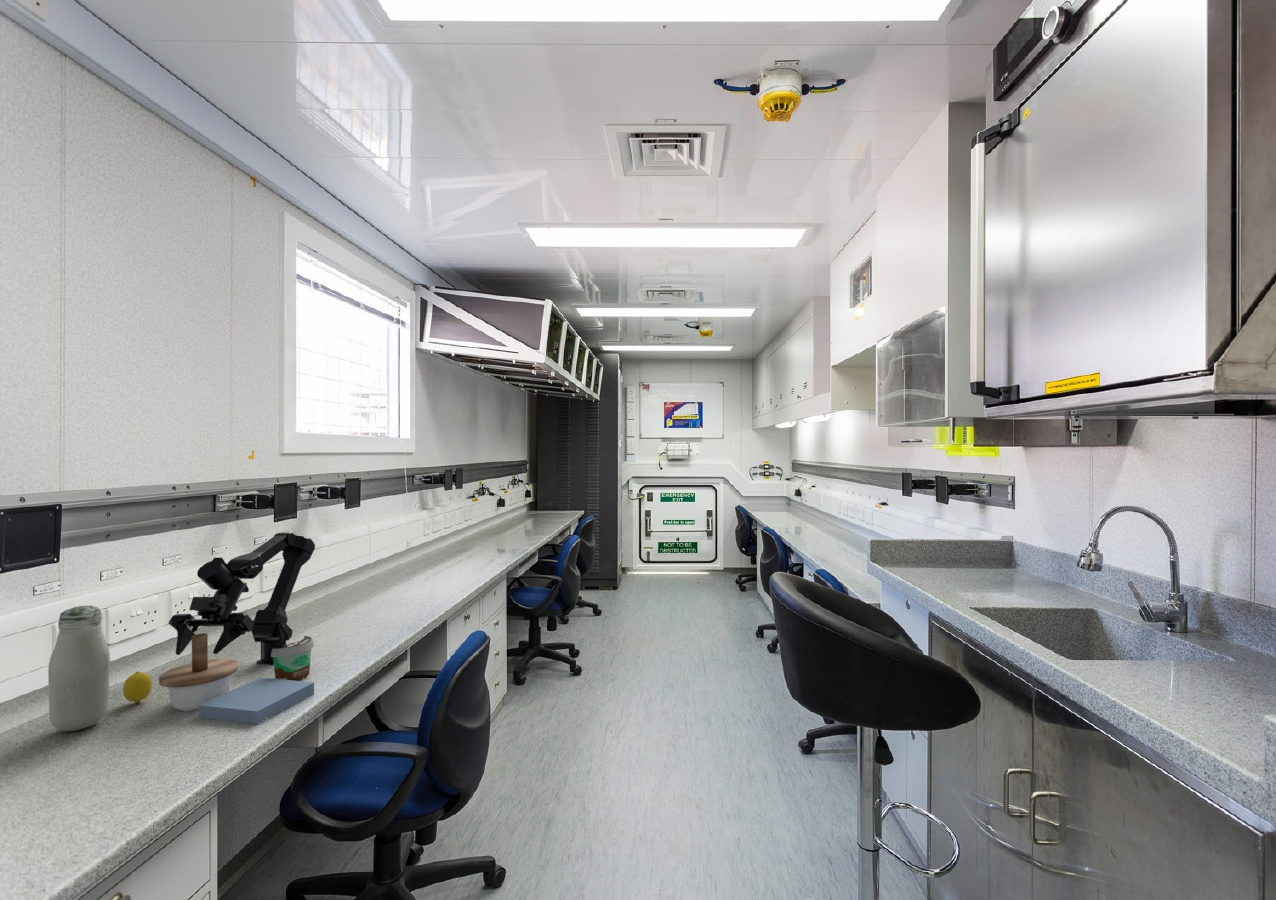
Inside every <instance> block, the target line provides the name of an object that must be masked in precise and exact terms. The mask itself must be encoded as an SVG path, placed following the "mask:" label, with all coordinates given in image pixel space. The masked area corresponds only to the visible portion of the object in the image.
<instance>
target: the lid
mask: <svg viewBox="0 0 1276 900" xmlns="http://www.w3.org/2000/svg"><path fill="white" fill-rule="evenodd" d="M208 645H209V644H208V633H206V632H205V633H204V632H203V633H198V634H195V635H193V636H192V640H191V662H189V663H186V664H182V665H179V666H176V667H174V668H171V669H168V670H167V671H165V672H162V674H160V675H159V677H158V684H159V685H160V686H161V687H164V688H167V687H171V688H176V687H188V686H195V685H200V684H205V683H209V682H212V681H216V680H219V679H222V678H224V677H227V676H229V675H231V674H232V675H233V674H234V673H235V672H237V671H238V669H239V661H237V660H236V659H232V658H213V659H211V658H210V659H209V654H208V650H209V649H208V647H209V646H208ZM232 675H231V676H232Z"/></svg>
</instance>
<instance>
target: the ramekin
mask: <svg viewBox="0 0 1276 900" xmlns="http://www.w3.org/2000/svg"><path fill="white" fill-rule="evenodd" d="M232 675H233V674H231V675H229V676H227V677H224V678H222V679H219V680H216V681H212V682H209V683H205V684H200V685H195V686H188V687H176V688H171V687H166V688H167V689H168V693H169V700H170V704H171V707H172V708H173V709H175V710H177V709H178V710H177V711H183V710H185V711H193V710H194V709H195V710H199V705H200V704H202V703H204V702H207V701H209V700H211V699H213V698H216V697H218V696H220V695H222V694H225V693H227V692H229V691H230V688H231V679H232Z"/></svg>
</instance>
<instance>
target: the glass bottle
mask: <svg viewBox="0 0 1276 900" xmlns="http://www.w3.org/2000/svg"><path fill="white" fill-rule="evenodd" d="M102 621H103V613H102V611H101V609H100V608H99V607H98V606H95V605H79V606H74V607H71V608H68V609H66V610H64V611H62V612H60V614H59V618H58V623H57V624H58V625H57V626H58V630H59V631H58V633H57V637H56V642H55V646H54V648H53V650H52V652H51V655H50V658H49V663H48V668H47V669H48V671H47V673H48V680H47V681H48V710H49V711H48V712H49V713H48V714H49V719H50V720H49V721H50V723H51V726H53V727H54V728H55V729H57V730H59V731H64V732H74V731H79V730H83V729H87V728H89V727H91V726H94V725H96V724H97V723H99V722H100V721H102V719H103V718H104V716H105V715H106V713H107V711H108V709H109V701H110V670H111V669H110V666H111V656H110V648H109V646H108V643H107V640H106V636H105V635H104V633H103V627H102V626H103V625H102Z"/></svg>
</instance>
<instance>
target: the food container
mask: <svg viewBox="0 0 1276 900" xmlns="http://www.w3.org/2000/svg"><path fill="white" fill-rule="evenodd" d="M314 647H315V644H314V639H312V636H309V635H304V636H303V638H302V639H301V640H298V641H296V642H295V641H294V642H292V643H288V644H287V645H286V646H285V647H283V648H281V649H272V653H271V657H273V662H274V664H273V671H274V679H282V680H293V681H299V680H300V681H303V680H304V679H303V678H305V679H307V678H308V677H309V676H310V669H311V659H312V658H311V656H312V655H311V654H312V649H313V648H314ZM308 675H309V676H308ZM307 676H308V677H307ZM306 677H307V678H306ZM302 679H303V680H302Z"/></svg>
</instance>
